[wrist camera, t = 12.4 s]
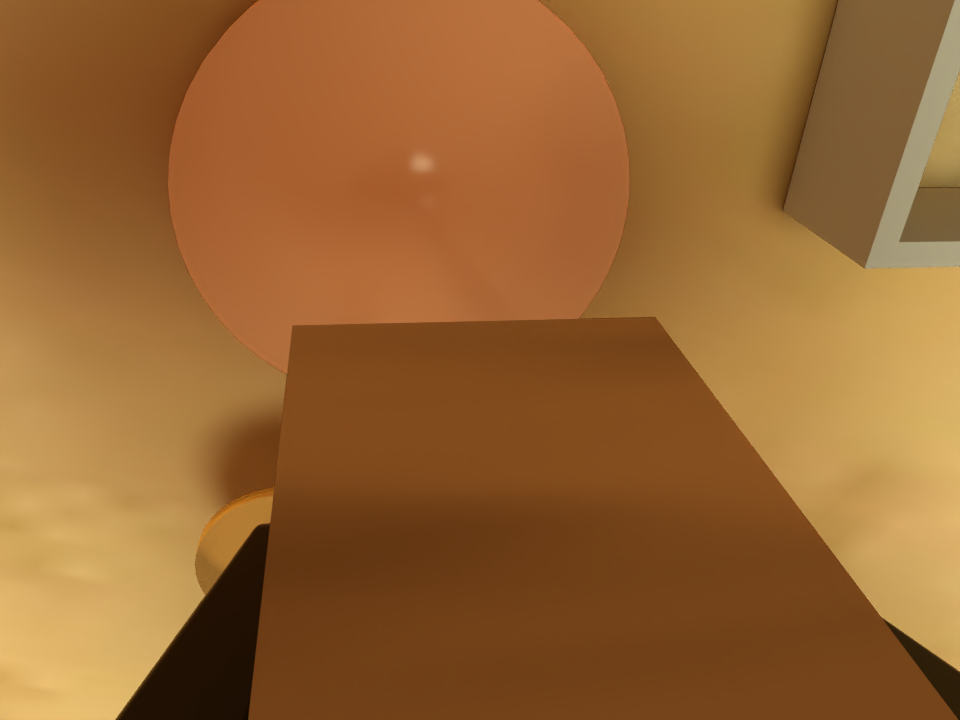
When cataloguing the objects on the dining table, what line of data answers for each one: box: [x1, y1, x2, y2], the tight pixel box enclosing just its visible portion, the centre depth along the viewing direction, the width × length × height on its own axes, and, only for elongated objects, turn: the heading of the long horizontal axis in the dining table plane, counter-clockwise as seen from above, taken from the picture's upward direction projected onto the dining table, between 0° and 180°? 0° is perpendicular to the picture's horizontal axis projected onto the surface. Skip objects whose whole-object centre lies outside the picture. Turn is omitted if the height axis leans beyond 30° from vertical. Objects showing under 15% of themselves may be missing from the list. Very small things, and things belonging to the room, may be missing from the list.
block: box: [248, 317, 958, 720], centre depth 7 cm, size 4×4×6 cm
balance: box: [195, 487, 274, 594], centre depth 22 cm, size 16×4×6 cm, turn 176°
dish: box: [168, 0, 630, 374], centre depth 17 cm, size 10×10×1 cm
